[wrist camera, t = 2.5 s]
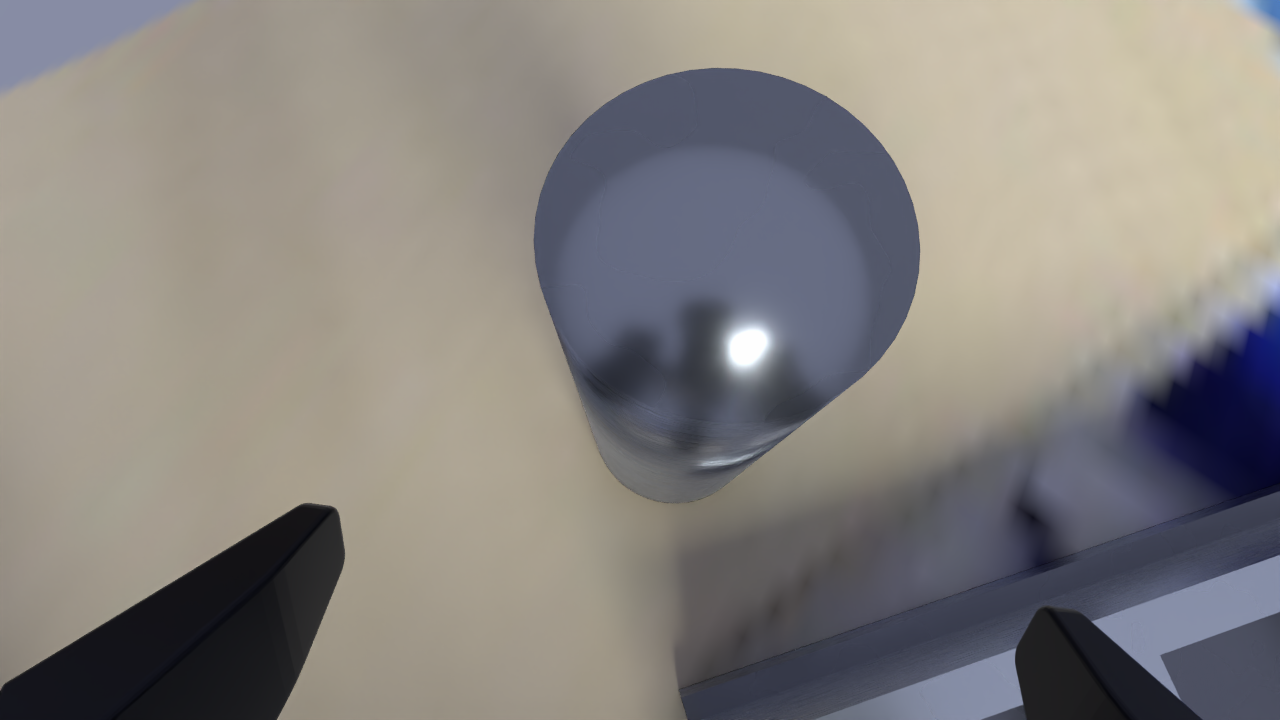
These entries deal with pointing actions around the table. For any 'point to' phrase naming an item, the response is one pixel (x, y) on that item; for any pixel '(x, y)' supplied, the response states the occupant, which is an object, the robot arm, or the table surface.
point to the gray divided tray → (1001, 611)
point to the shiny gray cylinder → (719, 270)
